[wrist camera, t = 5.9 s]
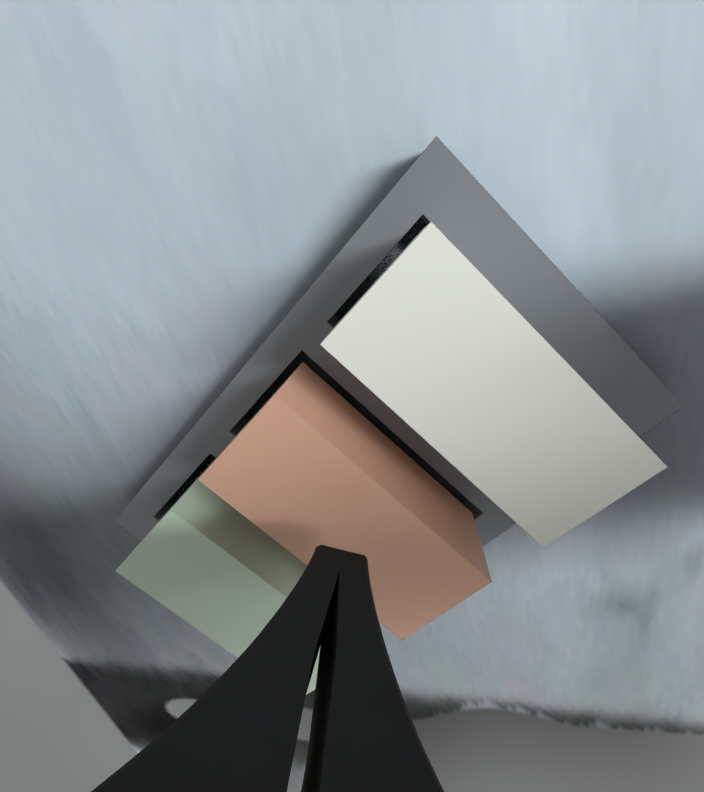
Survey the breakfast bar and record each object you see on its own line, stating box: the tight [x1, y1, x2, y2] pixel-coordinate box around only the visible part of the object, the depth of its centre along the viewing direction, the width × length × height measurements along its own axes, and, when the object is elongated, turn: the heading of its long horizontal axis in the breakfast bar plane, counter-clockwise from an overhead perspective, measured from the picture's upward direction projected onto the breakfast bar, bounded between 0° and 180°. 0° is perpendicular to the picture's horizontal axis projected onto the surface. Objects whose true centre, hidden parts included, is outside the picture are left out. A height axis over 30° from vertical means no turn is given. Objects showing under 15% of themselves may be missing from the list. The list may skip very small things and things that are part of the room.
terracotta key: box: [198, 362, 492, 640], centre depth 14 cm, size 9×4×4 cm, turn 47°
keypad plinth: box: [114, 136, 684, 546], centre depth 16 cm, size 12×20×2 cm, turn 137°
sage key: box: [115, 459, 321, 695], centre depth 16 cm, size 9×4×4 cm, turn 47°
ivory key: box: [320, 222, 667, 547], centre depth 12 cm, size 9×4×4 cm, turn 48°
